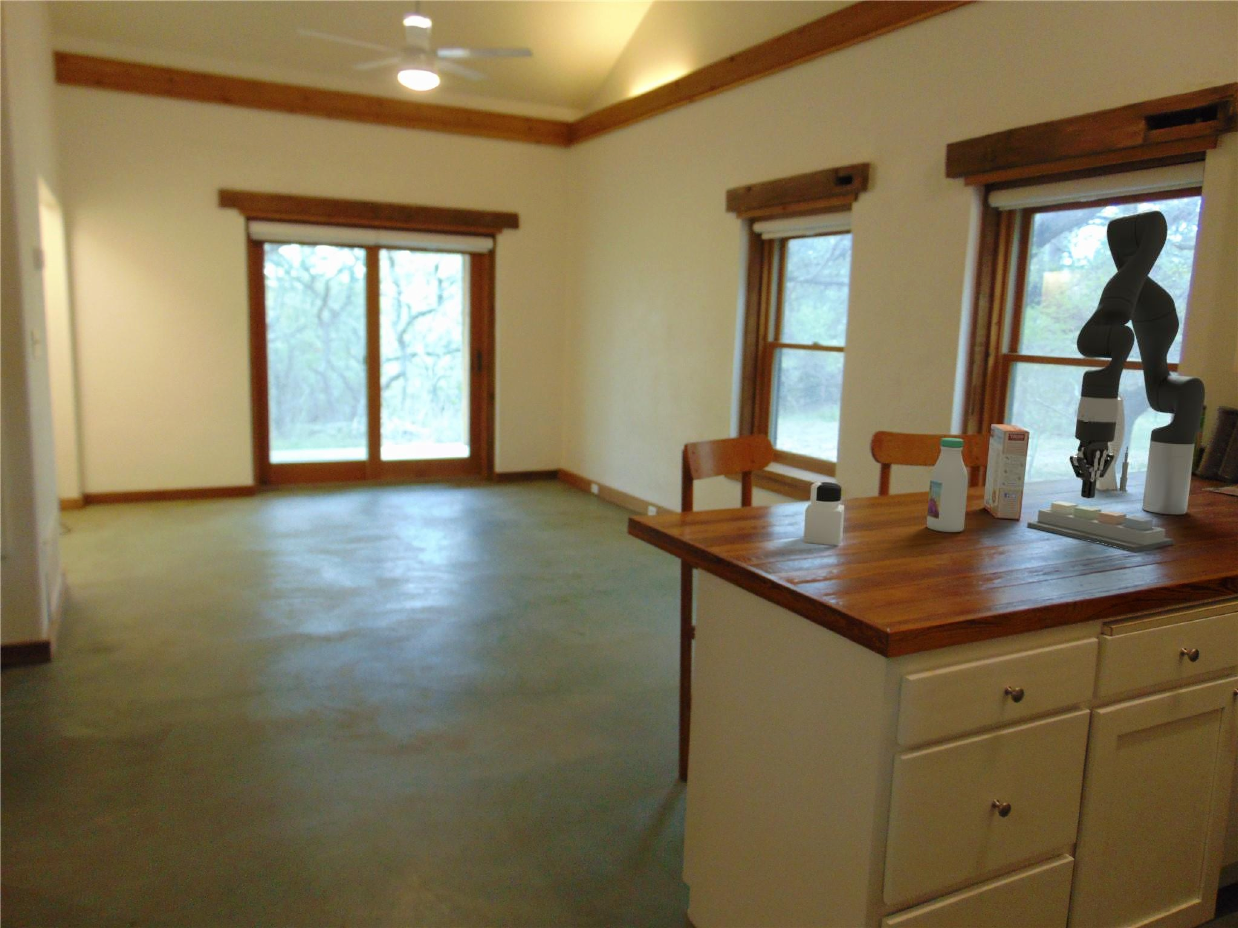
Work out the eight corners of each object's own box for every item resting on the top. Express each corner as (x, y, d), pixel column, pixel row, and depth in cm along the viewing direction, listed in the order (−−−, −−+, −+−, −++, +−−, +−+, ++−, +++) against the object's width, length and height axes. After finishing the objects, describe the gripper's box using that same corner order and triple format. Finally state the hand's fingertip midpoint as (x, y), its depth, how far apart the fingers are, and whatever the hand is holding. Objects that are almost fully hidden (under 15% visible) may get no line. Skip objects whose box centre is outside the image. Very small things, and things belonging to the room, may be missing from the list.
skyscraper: (1101, 492, 242) (1112, 390, 237) (1080, 487, 250) (1090, 388, 245) (1127, 492, 243) (1139, 391, 239) (1106, 486, 251) (1117, 388, 247)
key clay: (1107, 523, 191) (1109, 510, 190) (1125, 526, 187) (1126, 514, 187) (1097, 525, 189) (1098, 512, 188) (1114, 528, 185) (1116, 515, 185)
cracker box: (1022, 520, 204) (1030, 430, 200) (994, 519, 205) (1002, 429, 201) (1008, 508, 217) (1016, 424, 214) (982, 506, 218) (990, 423, 215)
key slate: (1133, 528, 186) (1134, 515, 185) (1151, 532, 183) (1152, 519, 182) (1122, 530, 184) (1124, 517, 184) (1140, 534, 181) (1142, 521, 180)
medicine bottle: (842, 538, 184) (846, 481, 182) (839, 546, 177) (842, 487, 175) (807, 535, 186) (810, 479, 184) (803, 542, 179) (806, 484, 177)
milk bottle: (964, 527, 196) (972, 438, 192) (962, 534, 189) (970, 442, 186) (928, 523, 199) (935, 435, 196) (924, 530, 192) (931, 439, 189)
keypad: (1065, 520, 204) (1067, 505, 204) (1172, 544, 184) (1174, 527, 183) (1027, 526, 198) (1028, 511, 197) (1134, 551, 177) (1136, 534, 176)
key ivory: (1060, 513, 200) (1061, 501, 199) (1076, 516, 197) (1077, 504, 196) (1050, 514, 198) (1051, 502, 198) (1065, 518, 195) (1067, 505, 194)
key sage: (1083, 518, 195) (1084, 505, 195) (1100, 521, 192) (1101, 509, 192) (1073, 519, 193) (1074, 507, 193) (1089, 523, 190) (1091, 510, 190)
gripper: (1098, 415, 196) (1089, 492, 198) (1061, 417, 189) (1052, 496, 192) (1131, 419, 189) (1122, 498, 192) (1094, 421, 183) (1085, 503, 185)
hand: (1087, 497), depth 192 cm, fingers closed
